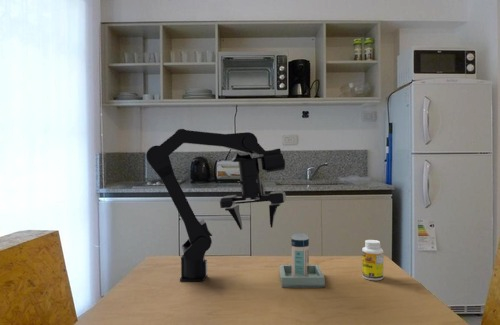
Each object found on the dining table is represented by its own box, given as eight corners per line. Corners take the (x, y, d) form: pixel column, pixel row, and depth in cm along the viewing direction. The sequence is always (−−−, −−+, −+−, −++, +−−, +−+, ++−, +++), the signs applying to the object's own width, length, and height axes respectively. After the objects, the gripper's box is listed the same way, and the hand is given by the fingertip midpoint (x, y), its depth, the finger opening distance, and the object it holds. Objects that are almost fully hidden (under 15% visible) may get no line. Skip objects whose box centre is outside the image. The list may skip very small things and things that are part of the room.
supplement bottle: (358, 276, 103) (357, 240, 103) (373, 273, 105) (373, 238, 105) (371, 282, 98) (371, 244, 98) (387, 279, 100) (387, 242, 100)
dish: (281, 287, 95) (281, 277, 95) (280, 273, 106) (279, 264, 106) (324, 287, 95) (324, 277, 95) (318, 273, 106) (318, 264, 106)
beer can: (304, 274, 103) (304, 232, 103) (312, 279, 99) (311, 235, 99) (288, 276, 102) (288, 233, 102) (295, 281, 98) (295, 236, 97)
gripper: (285, 169, 113) (291, 219, 114) (227, 175, 117) (233, 224, 118) (280, 173, 102) (286, 228, 103) (216, 180, 106) (223, 233, 107)
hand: (256, 228), depth 108 cm, fingers open, 9 cm apart
